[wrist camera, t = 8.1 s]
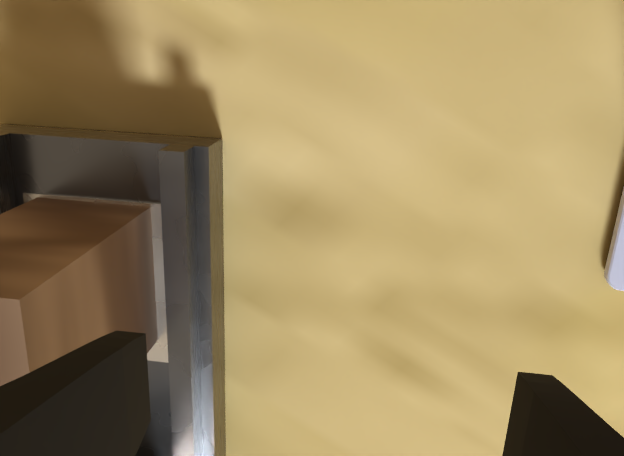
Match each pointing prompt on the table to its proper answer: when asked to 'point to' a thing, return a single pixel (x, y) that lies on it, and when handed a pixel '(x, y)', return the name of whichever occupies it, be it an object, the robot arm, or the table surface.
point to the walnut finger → (72, 279)
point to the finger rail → (166, 253)
